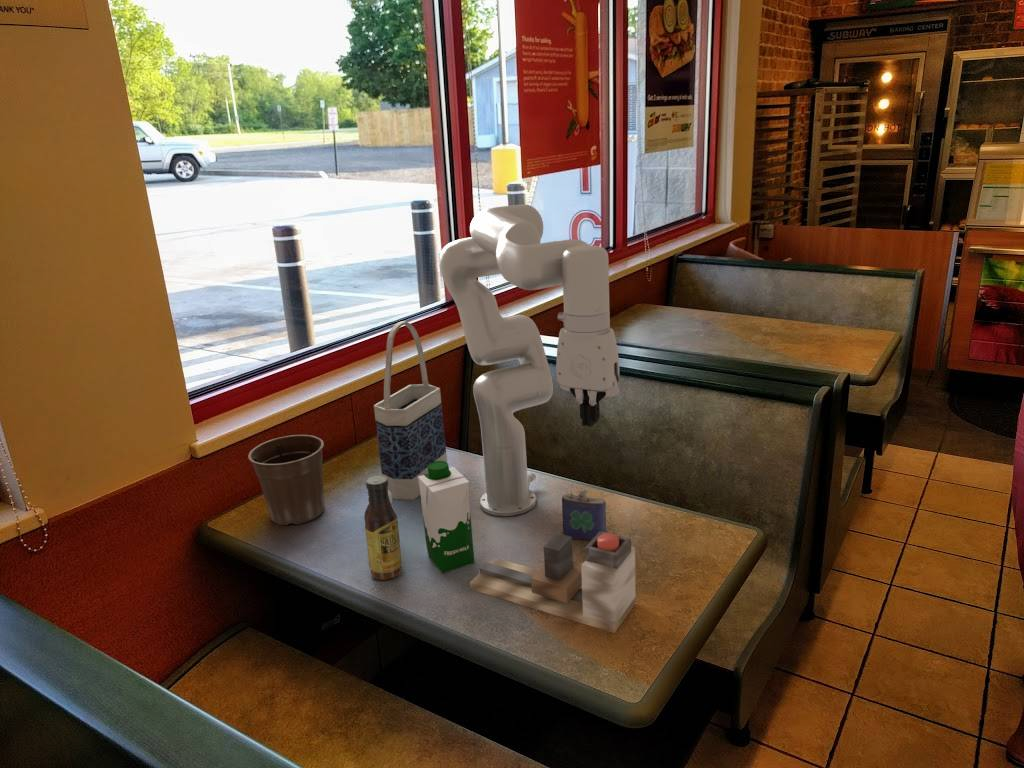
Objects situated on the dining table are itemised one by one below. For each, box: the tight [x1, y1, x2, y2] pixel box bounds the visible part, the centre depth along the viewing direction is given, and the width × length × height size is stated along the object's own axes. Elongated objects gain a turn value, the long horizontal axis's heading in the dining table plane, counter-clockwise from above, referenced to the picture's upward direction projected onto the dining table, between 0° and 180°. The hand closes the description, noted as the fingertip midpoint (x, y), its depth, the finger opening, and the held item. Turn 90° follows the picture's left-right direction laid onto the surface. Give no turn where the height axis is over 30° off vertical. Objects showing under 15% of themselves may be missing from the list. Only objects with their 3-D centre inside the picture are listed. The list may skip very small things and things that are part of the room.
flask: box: [561, 489, 607, 543], centre depth 155 cm, size 9×3×11 cm, turn 68°
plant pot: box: [248, 434, 326, 526], centre depth 172 cm, size 16×16×16 cm
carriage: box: [531, 532, 583, 603], centre depth 135 cm, size 7×8×9 cm
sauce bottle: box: [363, 475, 403, 581], centre depth 146 cm, size 7×6×20 cm
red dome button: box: [597, 533, 619, 552], centre depth 128 cm, size 4×4×3 cm
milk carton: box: [418, 461, 475, 575], centre depth 148 cm, size 9×9×20 cm
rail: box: [469, 532, 636, 634], centre depth 136 cm, size 29×9×14 cm, turn 59°
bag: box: [373, 320, 448, 500], centre depth 179 cm, size 18×9×40 cm, turn 153°
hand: (590, 423), depth 133 cm, fingers closed
